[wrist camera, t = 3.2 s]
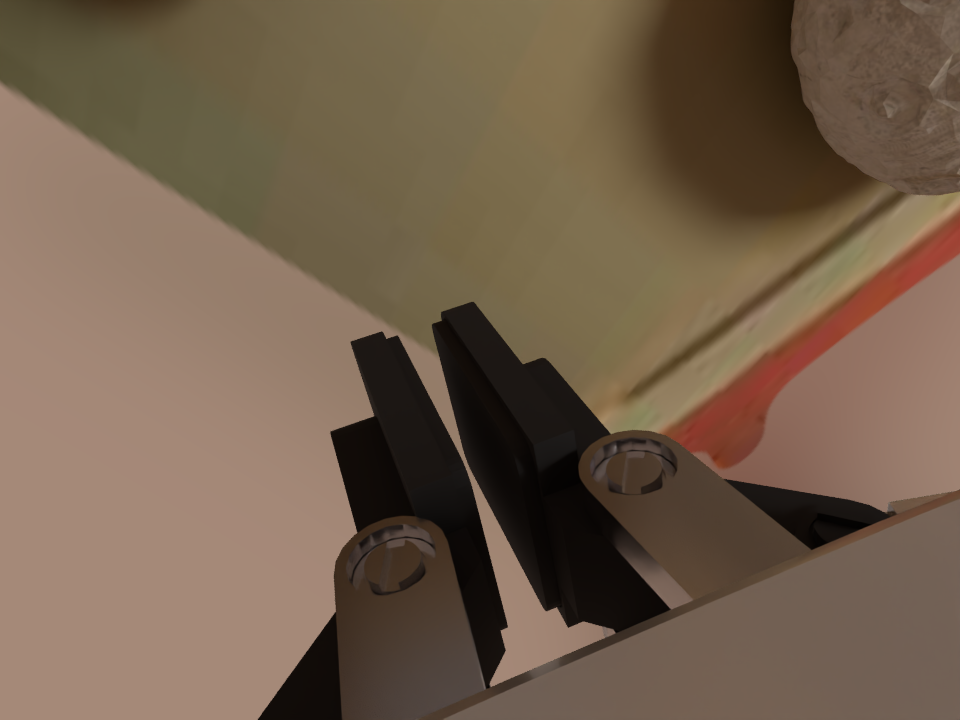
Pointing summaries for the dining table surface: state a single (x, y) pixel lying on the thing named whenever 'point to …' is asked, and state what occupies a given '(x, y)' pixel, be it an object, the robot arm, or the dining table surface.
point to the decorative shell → (885, 86)
